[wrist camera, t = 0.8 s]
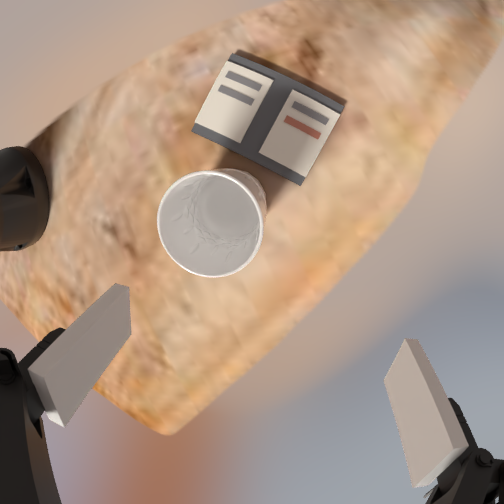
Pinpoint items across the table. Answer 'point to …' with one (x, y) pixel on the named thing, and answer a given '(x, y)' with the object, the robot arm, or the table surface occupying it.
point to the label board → (267, 118)
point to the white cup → (213, 221)
